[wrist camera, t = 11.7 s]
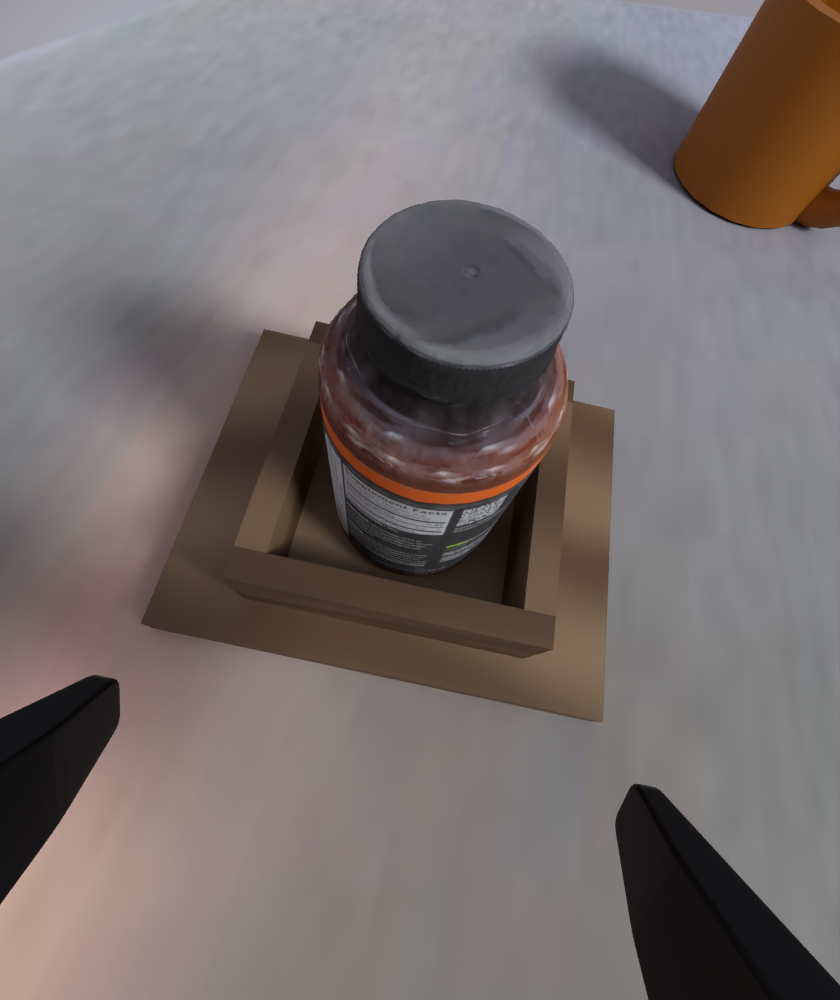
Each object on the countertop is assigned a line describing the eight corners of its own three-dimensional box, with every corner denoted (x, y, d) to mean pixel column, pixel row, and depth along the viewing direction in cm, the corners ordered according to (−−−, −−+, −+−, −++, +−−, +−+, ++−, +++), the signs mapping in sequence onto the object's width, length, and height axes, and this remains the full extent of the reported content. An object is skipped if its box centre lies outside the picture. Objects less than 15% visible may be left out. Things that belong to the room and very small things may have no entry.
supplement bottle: (398, 413, 21) (435, 118, 10) (515, 495, 20) (685, 263, 9) (302, 517, 18) (226, 274, 8) (429, 614, 18) (528, 482, 7)
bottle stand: (590, 721, 18) (650, 724, 14) (152, 627, 17) (96, 606, 14) (604, 422, 23) (650, 367, 19) (268, 344, 22) (250, 274, 19)
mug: (781, 284, 28) (956, 109, 20) (644, 157, 31) (746, -39, 23) (870, 238, 31) (1058, 67, 22) (736, 125, 34) (856, -61, 26)
